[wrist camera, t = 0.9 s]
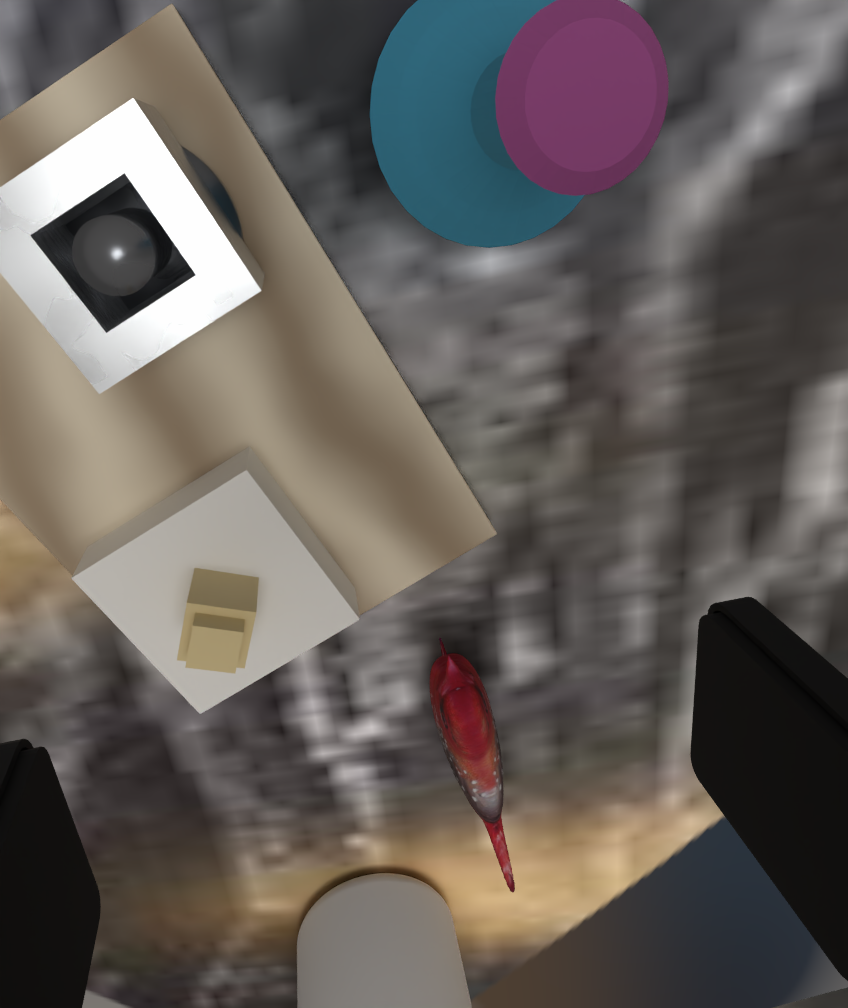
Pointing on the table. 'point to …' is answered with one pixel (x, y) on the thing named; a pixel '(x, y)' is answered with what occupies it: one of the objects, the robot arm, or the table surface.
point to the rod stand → (135, 242)
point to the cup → (380, 948)
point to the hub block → (219, 582)
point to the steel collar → (177, 206)
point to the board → (223, 363)
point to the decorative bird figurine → (471, 743)
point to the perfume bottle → (513, 111)
